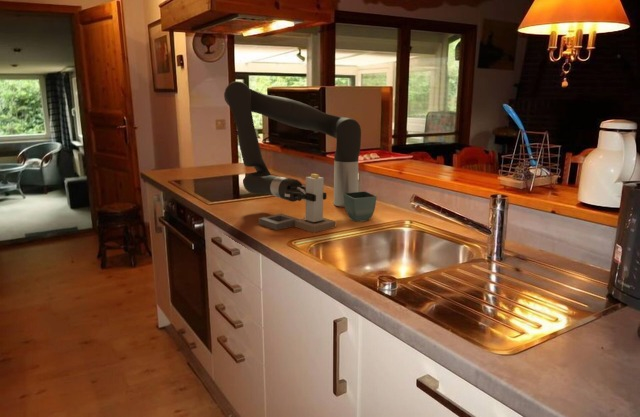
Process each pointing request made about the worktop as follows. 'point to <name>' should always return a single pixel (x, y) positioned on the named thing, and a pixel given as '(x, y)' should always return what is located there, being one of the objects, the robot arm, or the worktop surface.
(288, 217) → the socket
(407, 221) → the worktop surface
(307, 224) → the socket
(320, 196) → the plug
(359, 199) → the flower pot
